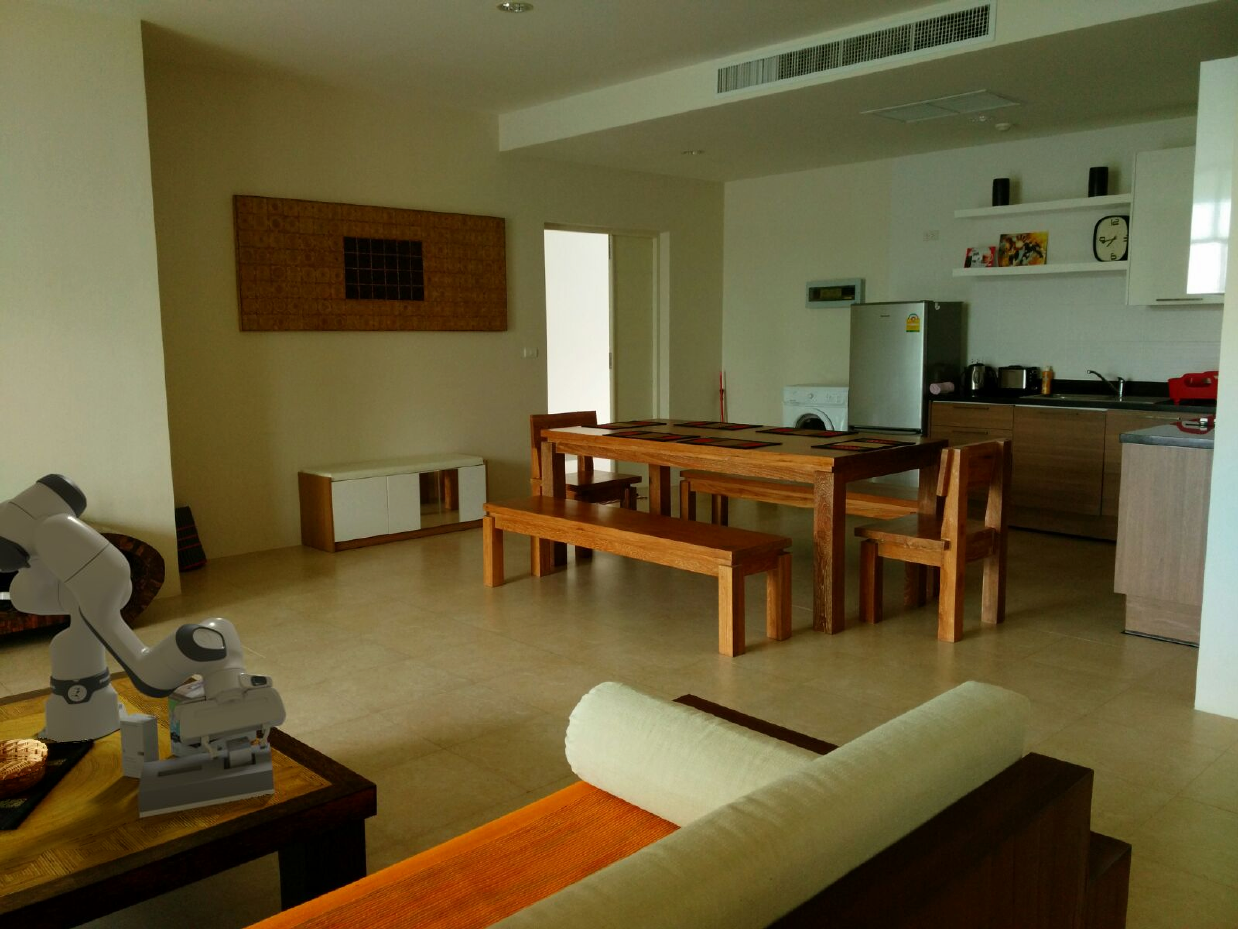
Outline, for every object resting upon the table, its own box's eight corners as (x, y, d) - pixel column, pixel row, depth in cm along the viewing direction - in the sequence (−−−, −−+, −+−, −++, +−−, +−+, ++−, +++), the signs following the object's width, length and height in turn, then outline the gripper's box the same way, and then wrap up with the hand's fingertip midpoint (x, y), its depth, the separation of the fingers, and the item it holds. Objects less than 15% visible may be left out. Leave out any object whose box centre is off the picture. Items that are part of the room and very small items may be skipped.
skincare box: (122, 776, 203) (116, 720, 201) (138, 767, 207) (133, 712, 206) (146, 780, 201) (141, 723, 200) (162, 770, 205) (157, 715, 204)
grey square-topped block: (228, 778, 199) (225, 740, 198) (249, 773, 201) (247, 736, 200) (232, 786, 195) (229, 748, 194) (253, 781, 197) (250, 743, 196)
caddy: (145, 786, 198) (143, 763, 197) (271, 765, 207) (269, 742, 206) (139, 817, 185) (137, 792, 185) (274, 793, 194) (272, 769, 193)
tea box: (199, 765, 208) (193, 698, 206) (170, 755, 213) (164, 689, 211) (258, 739, 220) (254, 676, 218) (230, 730, 226) (225, 668, 224)
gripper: (173, 694, 196) (183, 759, 189) (279, 675, 207) (292, 735, 200) (172, 709, 201) (182, 772, 194) (276, 689, 211) (289, 748, 204)
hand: (239, 753), depth 197 cm, fingers open, 8 cm apart
